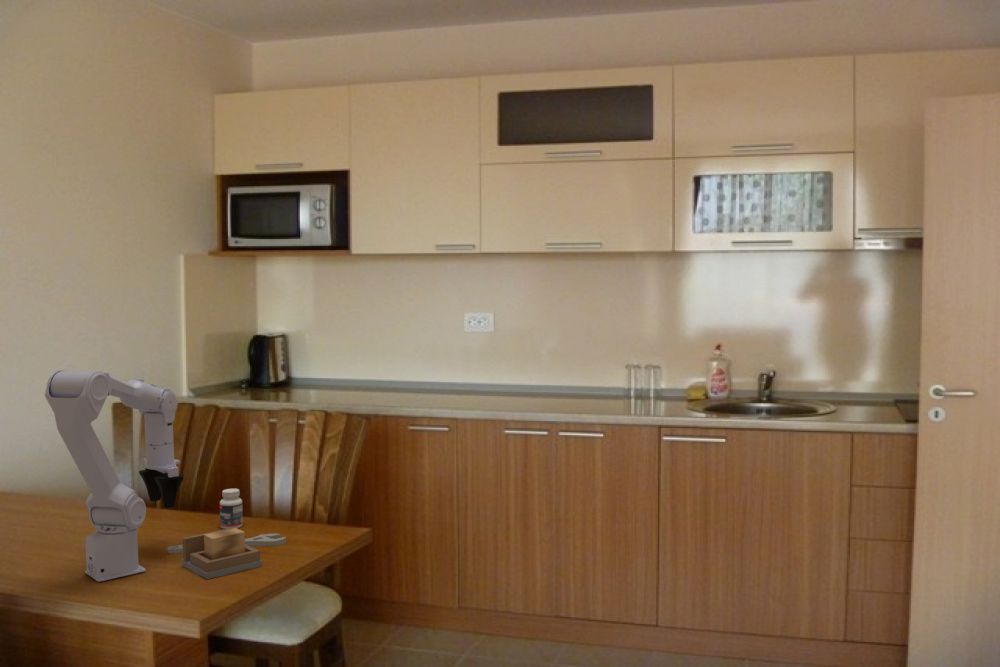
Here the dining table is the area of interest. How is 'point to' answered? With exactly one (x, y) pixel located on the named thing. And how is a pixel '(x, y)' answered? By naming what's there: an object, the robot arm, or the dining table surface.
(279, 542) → the adjustable wrench
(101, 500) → the robot arm
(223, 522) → the pill bottle
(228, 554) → the light wooden block
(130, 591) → the dining table surface
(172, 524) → the dining table surface
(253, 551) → the stand
